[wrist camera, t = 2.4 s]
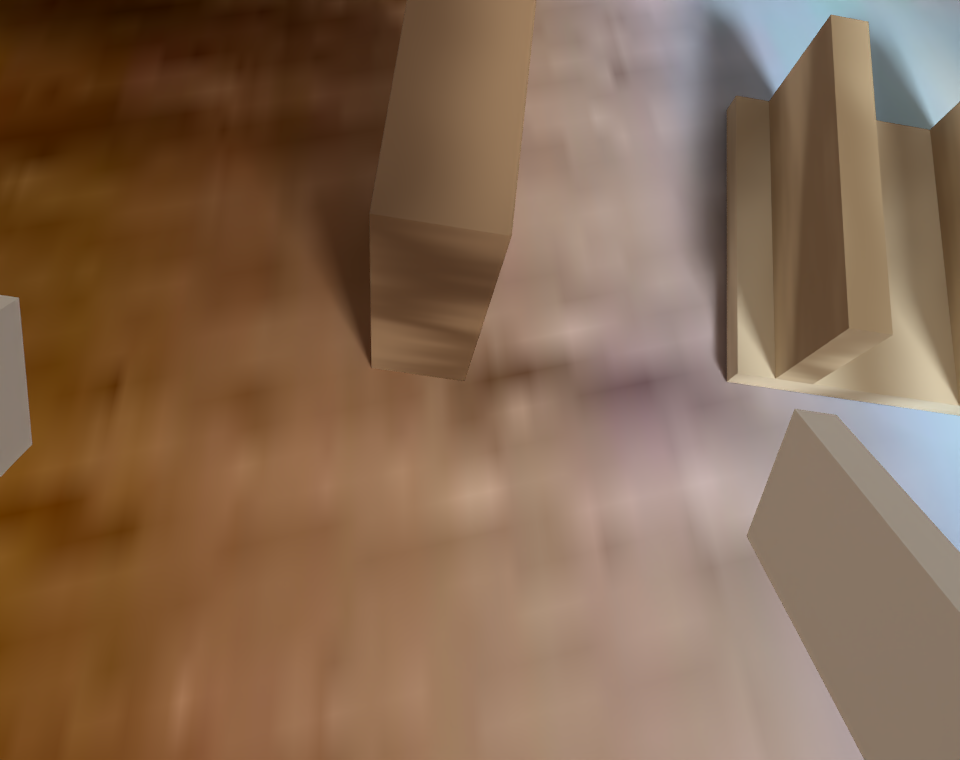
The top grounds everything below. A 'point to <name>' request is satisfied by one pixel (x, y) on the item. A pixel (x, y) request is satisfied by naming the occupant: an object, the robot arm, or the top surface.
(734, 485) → the top surface
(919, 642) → the robot arm
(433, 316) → the tile
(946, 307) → the rack
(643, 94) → the top surface
